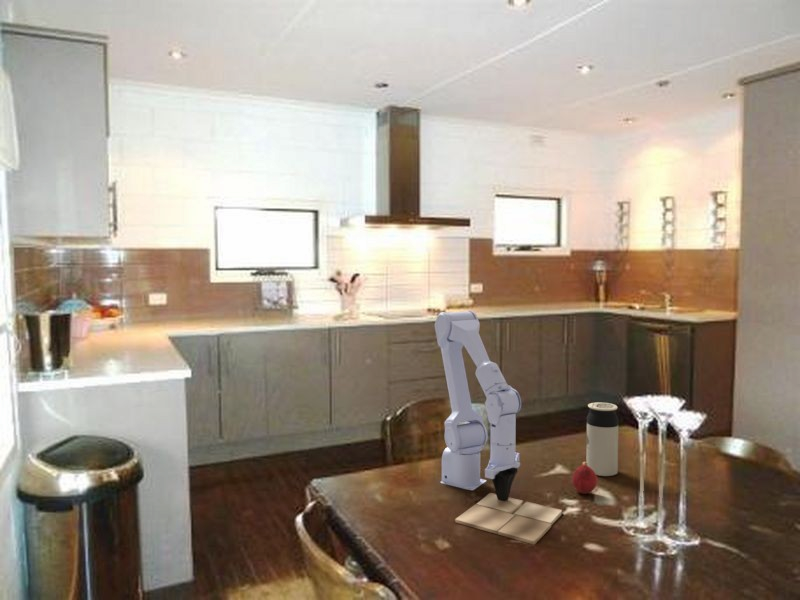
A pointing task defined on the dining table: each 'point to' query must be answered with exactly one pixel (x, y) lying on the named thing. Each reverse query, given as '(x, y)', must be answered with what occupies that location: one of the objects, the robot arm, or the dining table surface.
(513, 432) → the robot arm
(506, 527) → the laid row
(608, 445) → the travel mug
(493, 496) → the plank
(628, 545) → the dining table surface
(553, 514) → the plank
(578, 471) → the onion
